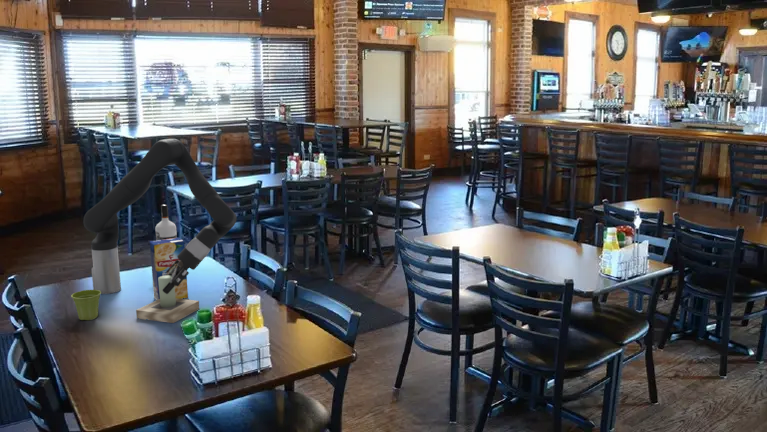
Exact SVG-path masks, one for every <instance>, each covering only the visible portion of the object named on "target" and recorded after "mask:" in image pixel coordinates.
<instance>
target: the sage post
mask: <svg viewBox="0 0 767 432" xmlns="http://www.w3.org/2000/svg"><path fill="white" fill-rule="evenodd" d="M171 279H172V276H171V275H165V276H161V277H159V278H158V282H159V294H160V306H161V307H172V306H175V305H176V298H175V286H174V287H173V289H172V290H171V291H170V292H169V293H168V294H166V293H164V292H163V289H164V287H165V286H166V285H167V284H168V283H169V282H170V280H171Z"/></svg>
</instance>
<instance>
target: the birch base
mask: <svg viewBox="0 0 767 432" xmlns="http://www.w3.org/2000/svg"><path fill="white" fill-rule="evenodd" d="M198 310H200V301H199V300H194V299H187V298H184V299H178V298H176V305H175V306H172V307H161V306H160V299H158V300H156V299H155V301H152V302H150V303H148V304H146V305H144V306H142V307H139V308H137V309H136V310H135V313H136V319H138V318H139V320H146V319H148V321H155V322H162V323H163V322H164V323H169V324H170V323H171V324H174V323H176V322H179V321H181V320H182V319H184V318H186V317H188V316H189V315H191V314H193V313H194V312H197V311H198Z"/></svg>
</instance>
